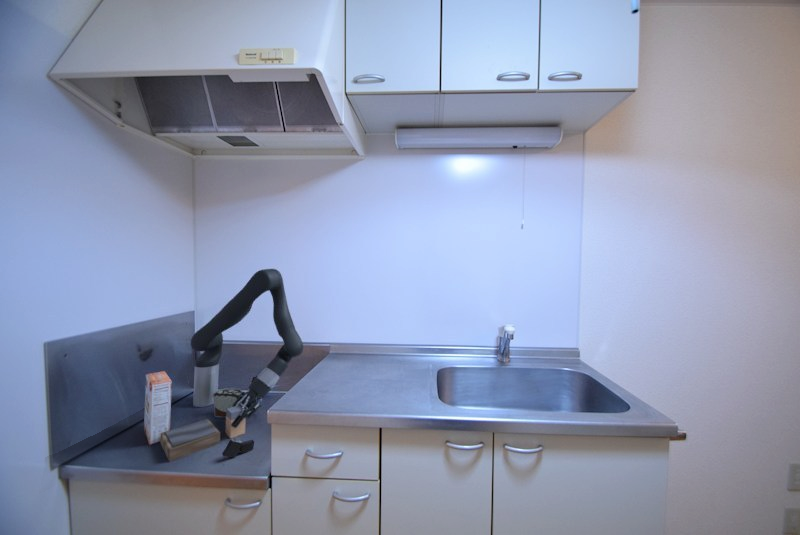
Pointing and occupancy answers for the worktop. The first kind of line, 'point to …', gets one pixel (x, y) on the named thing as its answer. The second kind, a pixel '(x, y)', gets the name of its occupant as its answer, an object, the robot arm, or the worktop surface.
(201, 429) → the stand
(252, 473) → the worktop surface
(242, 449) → the lighter
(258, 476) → the worktop surface
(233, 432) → the block
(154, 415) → the cracker box
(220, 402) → the food container
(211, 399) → the robot arm
